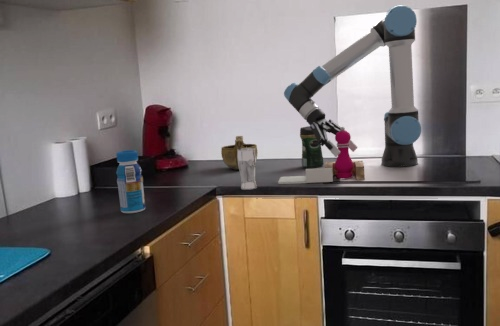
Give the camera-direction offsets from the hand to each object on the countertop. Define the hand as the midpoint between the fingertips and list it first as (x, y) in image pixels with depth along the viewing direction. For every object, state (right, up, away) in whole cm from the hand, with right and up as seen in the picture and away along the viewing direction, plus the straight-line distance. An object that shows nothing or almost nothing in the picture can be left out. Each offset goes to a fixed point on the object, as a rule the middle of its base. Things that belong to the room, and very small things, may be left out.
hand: (347, 152), depth 193 cm
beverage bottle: (-77, -20, -28) cm, 85 cm away
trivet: (-21, -11, +2) cm, 24 cm away
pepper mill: (0, -10, +3) cm, 10 cm away
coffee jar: (-9, -6, +32) cm, 34 cm away
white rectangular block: (-11, -11, -4) cm, 17 cm away
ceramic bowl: (-42, -7, +41) cm, 59 cm away
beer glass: (-38, -14, -5) cm, 41 cm away
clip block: (-1, -10, +3) cm, 10 cm away
